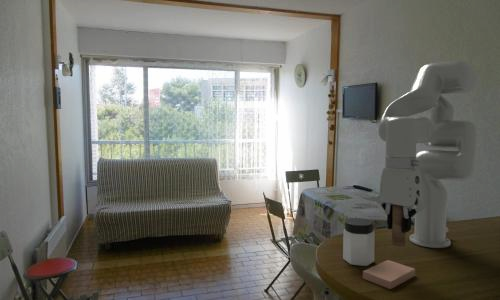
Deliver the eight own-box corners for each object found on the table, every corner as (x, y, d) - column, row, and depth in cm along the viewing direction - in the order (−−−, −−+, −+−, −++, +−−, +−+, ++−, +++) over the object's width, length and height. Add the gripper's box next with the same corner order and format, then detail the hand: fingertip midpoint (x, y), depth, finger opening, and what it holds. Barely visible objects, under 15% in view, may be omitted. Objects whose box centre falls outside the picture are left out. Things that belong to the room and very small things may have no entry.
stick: (395, 241, 101) (396, 199, 100) (407, 244, 98) (408, 201, 97) (389, 244, 99) (390, 201, 98) (400, 247, 96) (402, 203, 95)
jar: (379, 264, 105) (380, 224, 104) (354, 267, 103) (354, 226, 102) (362, 253, 113) (362, 216, 112) (339, 256, 111) (339, 218, 110)
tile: (387, 259, 103) (362, 271, 96) (415, 268, 97) (390, 281, 90) (387, 267, 103) (362, 279, 96) (414, 277, 97) (390, 291, 90)
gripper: (438, 164, 93) (436, 234, 94) (380, 159, 106) (379, 221, 107) (424, 167, 88) (422, 240, 90) (365, 162, 101) (364, 225, 102)
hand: (398, 229), depth 98 cm, fingers closed on stick, 3 cm apart
